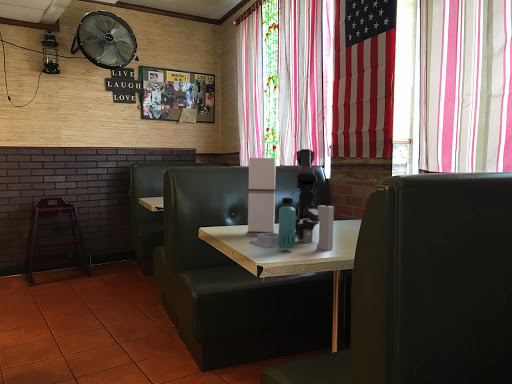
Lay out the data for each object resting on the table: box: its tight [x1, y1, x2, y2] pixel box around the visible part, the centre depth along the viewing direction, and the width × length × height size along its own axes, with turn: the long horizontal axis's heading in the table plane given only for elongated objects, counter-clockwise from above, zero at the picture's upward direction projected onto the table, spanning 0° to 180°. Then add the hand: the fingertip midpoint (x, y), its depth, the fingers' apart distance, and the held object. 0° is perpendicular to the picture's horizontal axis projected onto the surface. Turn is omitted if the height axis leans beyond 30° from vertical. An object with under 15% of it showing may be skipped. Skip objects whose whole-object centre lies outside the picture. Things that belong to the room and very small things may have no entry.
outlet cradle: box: [249, 231, 279, 249], centre depth 160 cm, size 14×12×4 cm
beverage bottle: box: [277, 197, 296, 250], centre depth 146 cm, size 6×7×20 cm
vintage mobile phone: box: [316, 184, 335, 252], centre depth 150 cm, size 4×5×25 cm
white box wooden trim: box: [247, 157, 277, 237], centre depth 181 cm, size 11×11×35 cm
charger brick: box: [296, 229, 313, 244], centre depth 165 cm, size 4×5×5 cm
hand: (304, 238), depth 165 cm, fingers closed on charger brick, 4 cm apart
